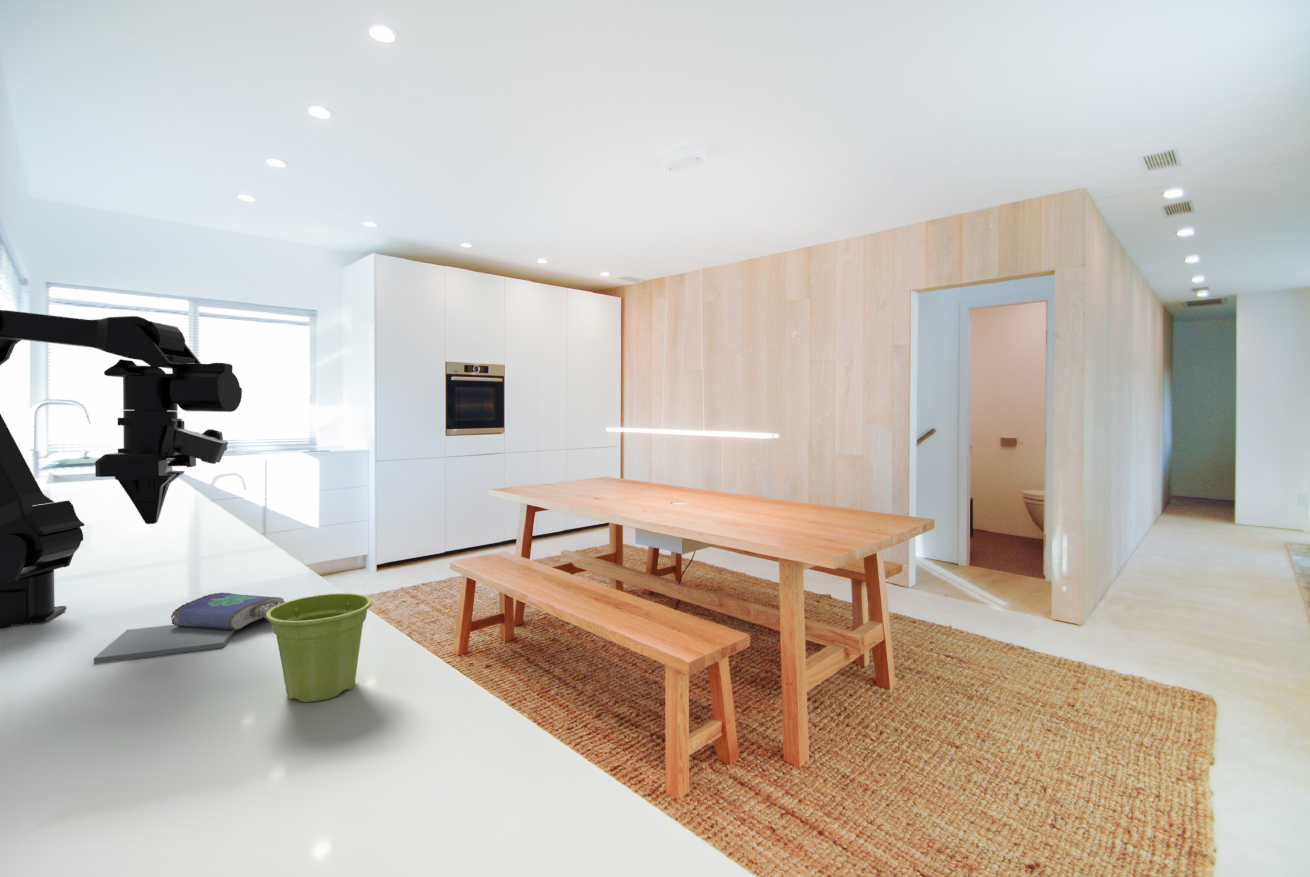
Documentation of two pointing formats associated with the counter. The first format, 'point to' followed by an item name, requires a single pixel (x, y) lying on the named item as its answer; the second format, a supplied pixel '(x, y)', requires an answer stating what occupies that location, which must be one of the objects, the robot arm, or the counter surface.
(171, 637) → the serving mat
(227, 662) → the counter surface
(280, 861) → the counter surface
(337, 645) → the plant pot
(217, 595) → the flask
